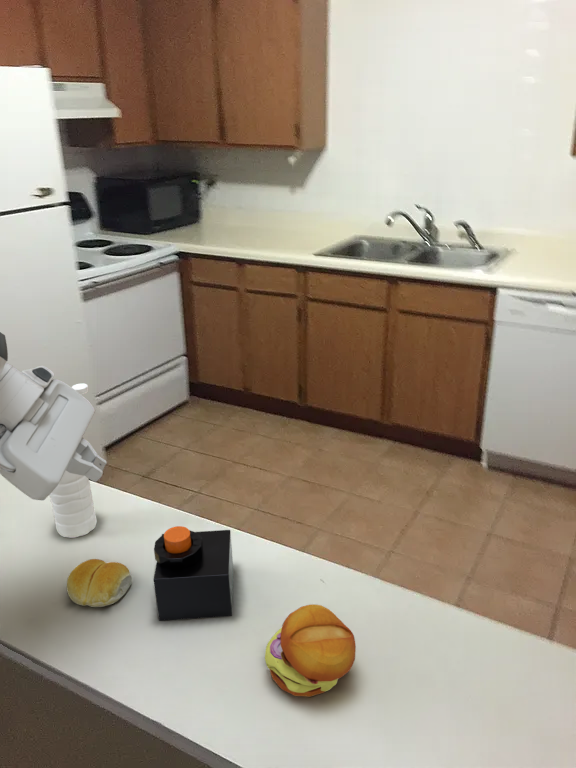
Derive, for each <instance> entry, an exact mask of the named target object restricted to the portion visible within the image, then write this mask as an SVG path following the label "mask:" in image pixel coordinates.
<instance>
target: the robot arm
mask: <svg viewBox="0 0 576 768" xmlns="http://www.w3.org/2000/svg"><path fill="white" fill-rule="evenodd" d="M8 355H9V353H8V344H7V339H6V335H5V334H4V333H2V332H0V476H2V477H3V478H4V479H5V480H7V482H9V483H10V484H11V485H12V486H14V487H15V488H16V489H18V490H19V491H20V492H21V493H23V494H24V495H25V496H27V497H28V498H30V499H32V500H34V501H44V500H46V499H47V498H48V497H50V494H51V493H52V491H53V490H54V489H55V488H56V487H57V486H58V484H59V483H60V481H61V479H62V477H63V475H64V473H65V471H68V472H69V473H73V474H78V475H83V476H86V477H87V478H89V481H91V482H94V483H96V482H98V481H99V480H100V479H101V478H102V477H103V475H104V472H105V470H106V467H107V464H108V462H107V460H106V459H104V458H103V457H101V456H100V455H99V454H98V452H96V449H94V446H93V445H92V443H90V441H89V440H87V439H85V438H84V436H85V433H86V431H87V429H88V427H89V425H90V423H91V421H92V419H93V417H94V416H95V414H96V409H95V407H94V405H93V404H92V403H91V402H90V400H88V399H87V398H86V397H85V396H83V395H81V394H80V393H78V392H77V391H76V390H74V389H73V388H72V386H71V385H69V384H68V383H66V382H65V381H63V380H61V379H58V378H54V377H55V373H54V371H53V370H51V369H50V368H49V367H47V366H46V365H38V366H36V367H33V368H29V369H23V370H20V369H18V368H16V367H15V366H13V365H12V364H11V363H9V362H8V359H9V356H8Z"/></svg>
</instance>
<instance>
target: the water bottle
mask: <svg viewBox="0 0 576 768" xmlns="http://www.w3.org/2000/svg"><path fill="white" fill-rule="evenodd" d="M88 385H89V384H87V383H83V382H82V383H76V384H73V385H71V387H72V388H73V389H74V390H76V391H77V392H78V393H80V394H81V395H82V396H83V395H85V394H87V393H89V386H88ZM91 488H92V487H91V482H90V479H89V478H87V477H86V476H83V475H78V474H73V473H69V472H68V471H65V473H64V475H63V477H62V479H61V481H60V483H59V484H58V486H57V487H56V488H55V489H54V490H53V491H52V493H51V494H50V495H49V498H50V504H51V507H52V514H53V517H54V523H55V528H56V532H57V533H58V535H59V536H61V537H63V538H71V539H73V538H79V537H83V536H86V535H87V534H89V533H90V532H92V531H93V530H94V529H95V528H96V526H97V523H98V521H97V513H96V510H95V504H94V500H93V493H92V489H91Z"/></svg>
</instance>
